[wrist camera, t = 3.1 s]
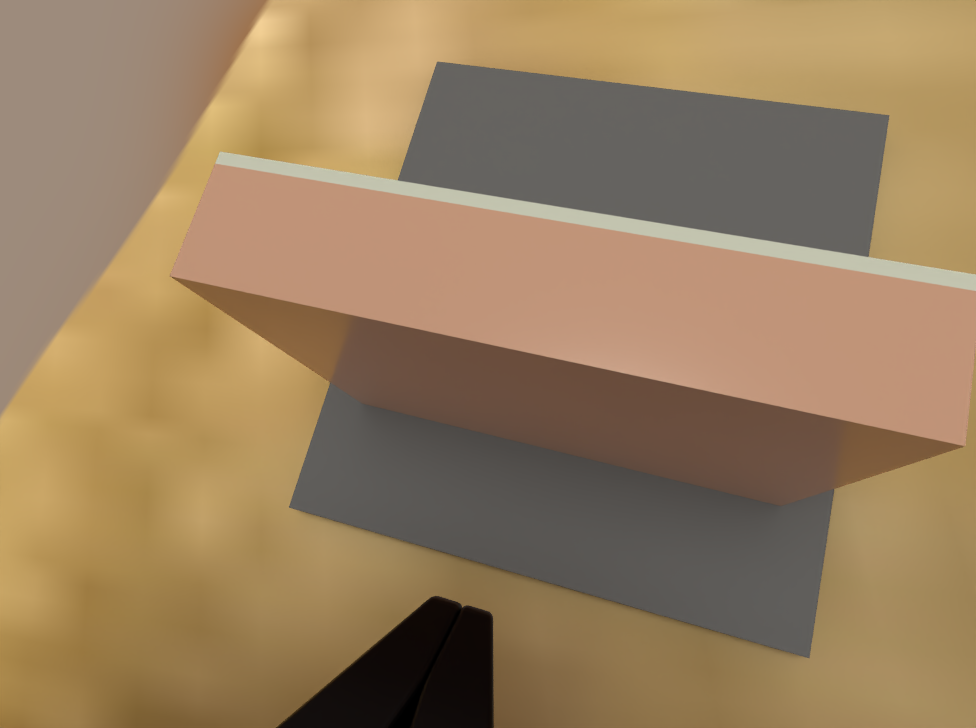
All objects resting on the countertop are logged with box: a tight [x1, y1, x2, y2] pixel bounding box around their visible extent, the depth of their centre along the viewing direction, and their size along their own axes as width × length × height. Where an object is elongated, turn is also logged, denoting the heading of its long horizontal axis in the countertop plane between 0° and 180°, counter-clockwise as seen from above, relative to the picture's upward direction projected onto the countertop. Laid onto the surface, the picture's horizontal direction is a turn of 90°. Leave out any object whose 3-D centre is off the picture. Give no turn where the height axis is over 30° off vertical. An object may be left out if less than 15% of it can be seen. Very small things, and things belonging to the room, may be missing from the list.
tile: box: [170, 152, 976, 506], centre depth 12 cm, size 2×10×8 cm, turn 74°
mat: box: [289, 62, 889, 658], centre depth 17 cm, size 13×12×1 cm
